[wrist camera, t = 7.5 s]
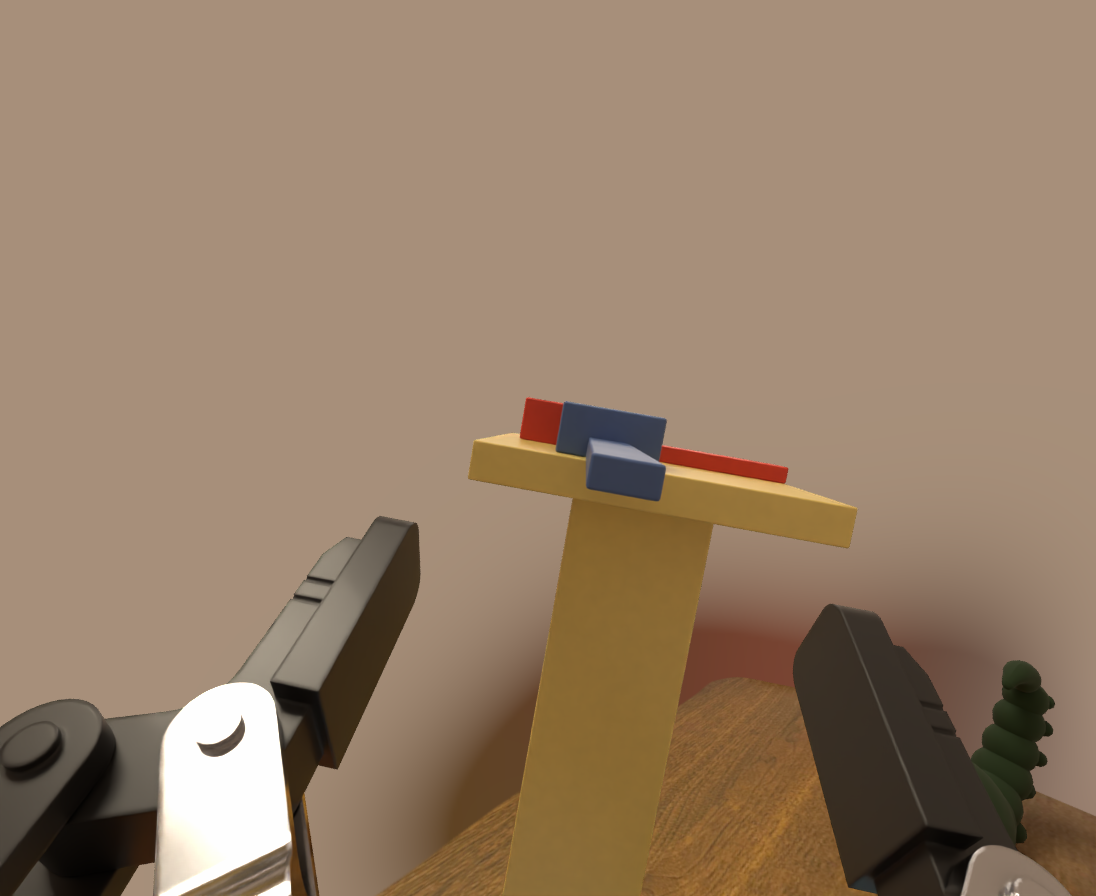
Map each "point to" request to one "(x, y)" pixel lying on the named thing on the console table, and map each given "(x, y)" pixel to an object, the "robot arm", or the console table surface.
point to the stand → (621, 654)
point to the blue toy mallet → (615, 449)
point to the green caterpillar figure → (1014, 745)
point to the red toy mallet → (544, 428)
